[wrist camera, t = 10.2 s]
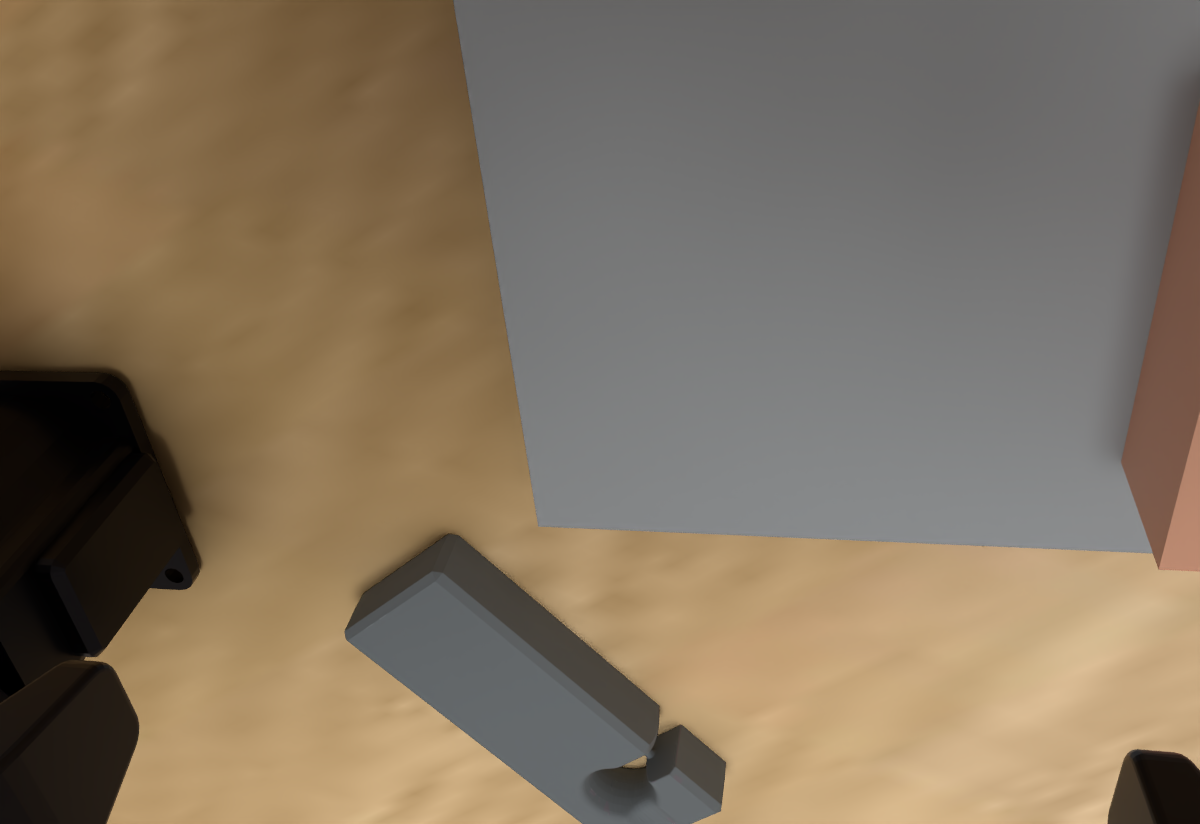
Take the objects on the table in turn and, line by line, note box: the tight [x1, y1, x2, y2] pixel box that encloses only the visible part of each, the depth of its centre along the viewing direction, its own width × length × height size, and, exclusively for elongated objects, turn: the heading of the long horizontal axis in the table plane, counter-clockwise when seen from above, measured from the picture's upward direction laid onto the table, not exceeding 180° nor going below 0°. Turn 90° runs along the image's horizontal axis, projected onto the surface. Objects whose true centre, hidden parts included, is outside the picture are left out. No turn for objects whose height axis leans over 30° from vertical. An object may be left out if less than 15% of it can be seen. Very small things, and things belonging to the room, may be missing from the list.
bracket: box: [345, 534, 726, 824], centre depth 29 cm, size 4×10×2 cm, turn 45°
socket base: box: [453, 0, 1200, 571], centre depth 18 cm, size 19×12×4 cm, turn 96°
